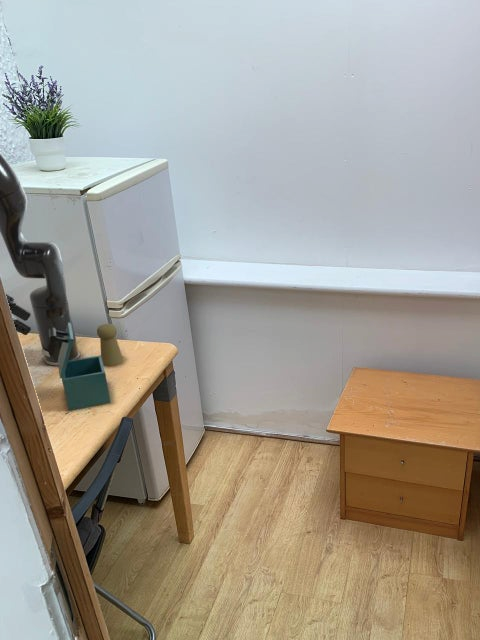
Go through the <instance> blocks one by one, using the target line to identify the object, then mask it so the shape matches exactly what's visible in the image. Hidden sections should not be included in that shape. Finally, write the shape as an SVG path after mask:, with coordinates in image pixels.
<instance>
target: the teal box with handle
mask: <svg viewBox="0 0 480 640" xmlns="http://www.w3.org/2000/svg"><path fill="white" fill-rule="evenodd" d="M56 334H59V335H64V338H60V337H57V335H56ZM49 338H50V341H52V342H55V341H61V342H62V346H61V350H60V353H59V357H58V365H57V367H58V375H59V378H60V379H62V378H64V374H65V370H66V366H67V363H68V359H69V355H70V351H71V348H72V344H73V340H74V338H73V332H72V326H71V323H69V322H68V323H67V327H66V330H65V332H62V331H57V330H56V329H55V328H50V329H49Z"/></svg>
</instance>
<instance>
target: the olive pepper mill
mask: <svg viewBox="0 0 480 640" xmlns="http://www.w3.org/2000/svg"><path fill="white" fill-rule="evenodd" d="M96 334H97V336H98V337H99V340H100V355H101V358H102V362H103V366H104V367H115V366H118V365H121V364H122V363H123V362H124V357H123V354H122V352H121V348H120V345H119V342H118V339H117V337H116V336H117V334H118V329H117V327H116V326H115V325H114V324H112V323H102V324H100V325H99V326H98V327H97V329H96Z"/></svg>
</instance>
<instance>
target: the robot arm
mask: <svg viewBox="0 0 480 640" xmlns="http://www.w3.org/2000/svg"><path fill="white" fill-rule="evenodd" d="M27 210H28V197H27V193H26V192H25V189H24V187H23V186H22V183H21V180H20V178H19V176H18V175H17V173H16V171H15V169H14V168H13V166H12V165H11V164H10V163H9V161H8V160H7V159H6V158H5V157H4V155H3V154H2V153H1V152H0V235H1V237H2V240H3V242H4V244H5V247H6V249H7V253H8V255H9V257H10V259H11V262H12V264H13V267H14V268H15V271H16V272H17V273H18V274H19V276H21V277H23V278H26V279H39V280H41V279H42V280H43V279H45V285H43V286H40V287H37V288H35V289H33V290H32V291H31V292H30V294H29V301H30V304H31V308H32V313H33V317H34V321H35V324H36V329H37V333H38V337H39V341H40V345H41V354H42V355H43V359H44V362H45V364H47V365H49V366H55V367H56V366H57V367H58V357H59V353H60V350H61V346H62V342H61V341H55V342H52V341H50V338H49V329H50V328H55V329H56V330H57V331H62V332H65V330H66V327H67V323H68V322H69V323H71V326H72V332H73V338H74V340H73V344H72V348H71V351H70V355H69V359H68V361H69V360H75V359H80V356H81V354H80V351H79V348H78V347H79V346H78V343H77V338H76V333H75V327H74V323H73V319H72V315H71V310H70V309H71V308H70V305H69V301H68V295H67V284H66V279H65V273H64V272H65V271H64V267H63V260H62V255H61V251H60V249H59V247H58V246H57V244H55V243H54V242H50V241H49V242H48V241H47V242H46V241H27V239H26V238H25V236H24V234H23V232H22V226H23V222H24V219H25V216H26V213H27ZM5 294H6V296H7V300H8V303H9V306H10V310H11V312H10V313H11V314H12V318H13V321H14V324H15V327H16V330H15V331H17V332H18V333H20V334H22V335H23V336H27V335H28V334H30V332H31V330H32V326H30V325H28V324H27V323H25V322H26V321H28V320H29V319H30V317H31V312H30V311H28V310H27V309H25V308H23V307H21V306H20V305H18V304H17V302H16V301H15V299H14V297H12V296H10V295H9V294H7V293H5ZM16 317H17V318H16ZM18 318H19V319H18ZM23 321H25V322H23ZM56 335H57V337H60V338H64V335H59V334H56Z"/></svg>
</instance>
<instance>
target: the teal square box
mask: <svg viewBox="0 0 480 640" xmlns="http://www.w3.org/2000/svg"><path fill="white" fill-rule="evenodd" d="M61 382H62V387H63V390H64V395H65V399H66V403H67V408H68V411H69V412H71V411H75V410H80V409H87V408H93V407H97V406H102V405H108V404H111V403H112V401H111V397H110V391H109V386H108V385H109V384H108V380H107V376H106V369H105V366H104V365H103V362H102V358H101V354H100V355H94V356H88V357H82V358H78V359H75V360H69V361H68V363H67V366H66V370H65V374H64V378H61Z"/></svg>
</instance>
